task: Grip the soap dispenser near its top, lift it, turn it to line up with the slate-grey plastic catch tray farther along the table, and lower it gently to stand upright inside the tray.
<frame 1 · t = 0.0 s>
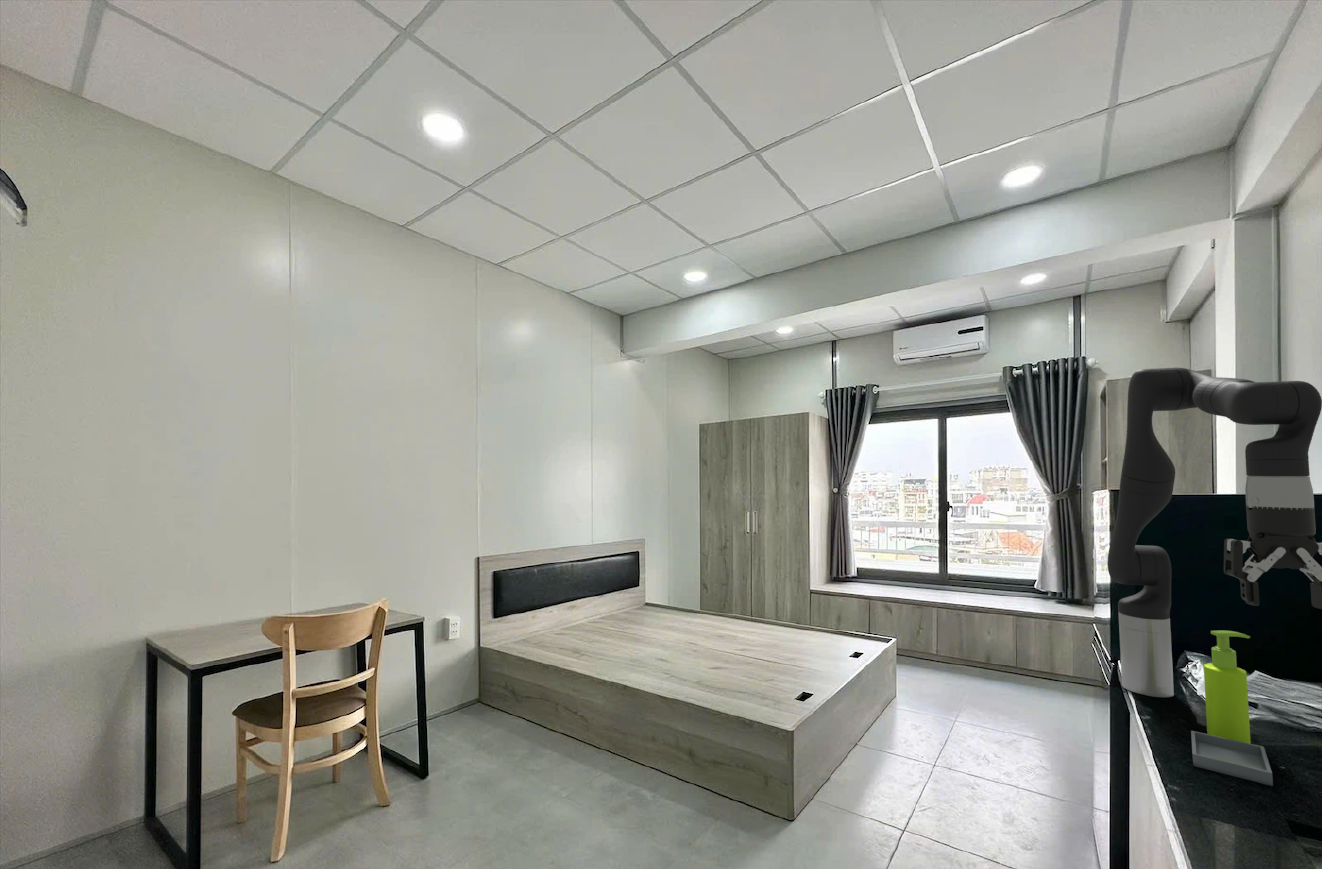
hand: (1285, 606, 92), 29 cm above the worktop, tool pointing down, fingers open, 8 cm apart
soap dispenser: (1231, 739, 109), on the worktop
catch tray: (1229, 762, 101), on the worktop
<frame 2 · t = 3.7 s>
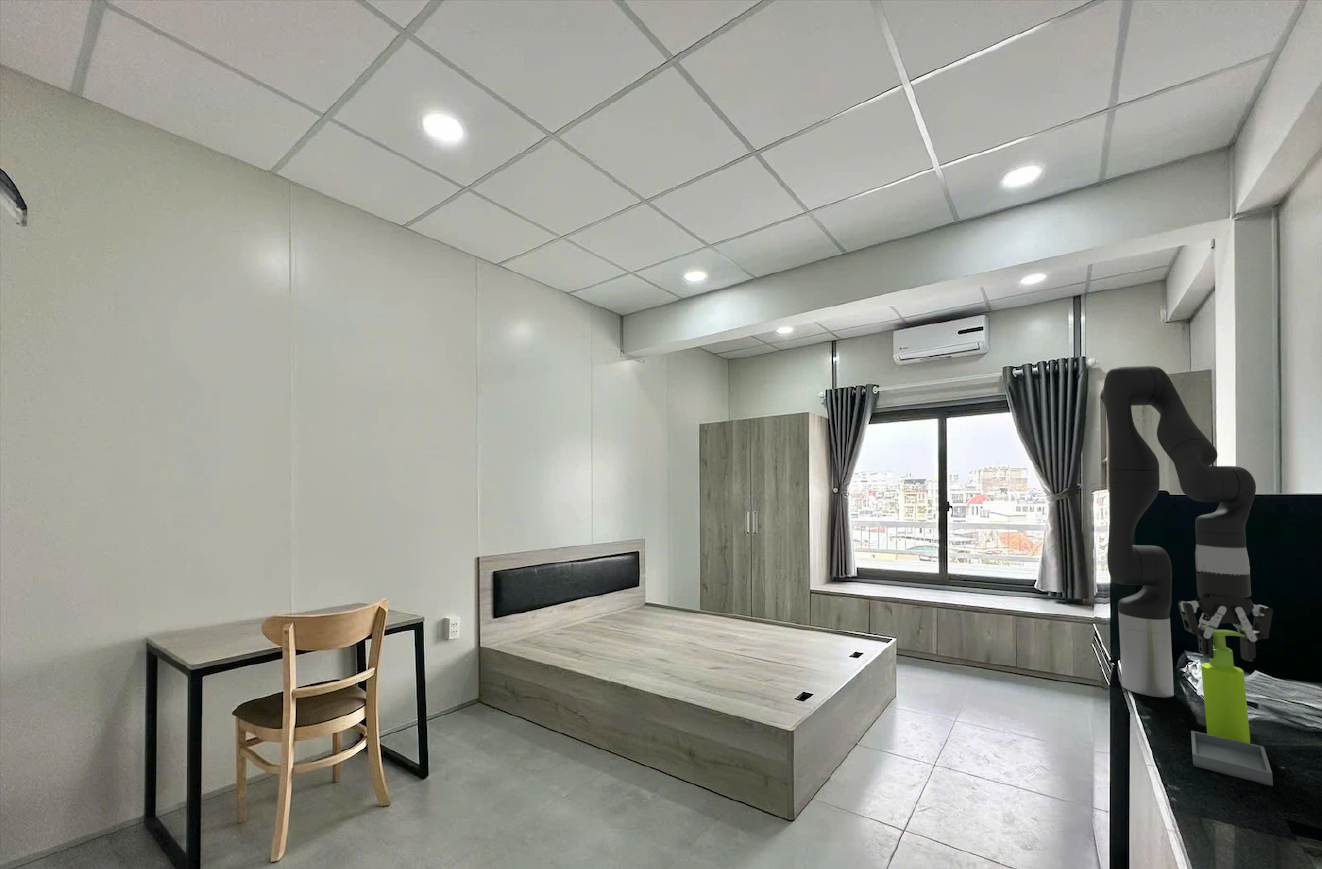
hand: (1227, 658, 110), 15 cm above the worktop, tool pointing down, fingers closed on soap dispenser, 5 cm apart
soap dispenser: (1231, 739, 109), on the worktop, touching gripper
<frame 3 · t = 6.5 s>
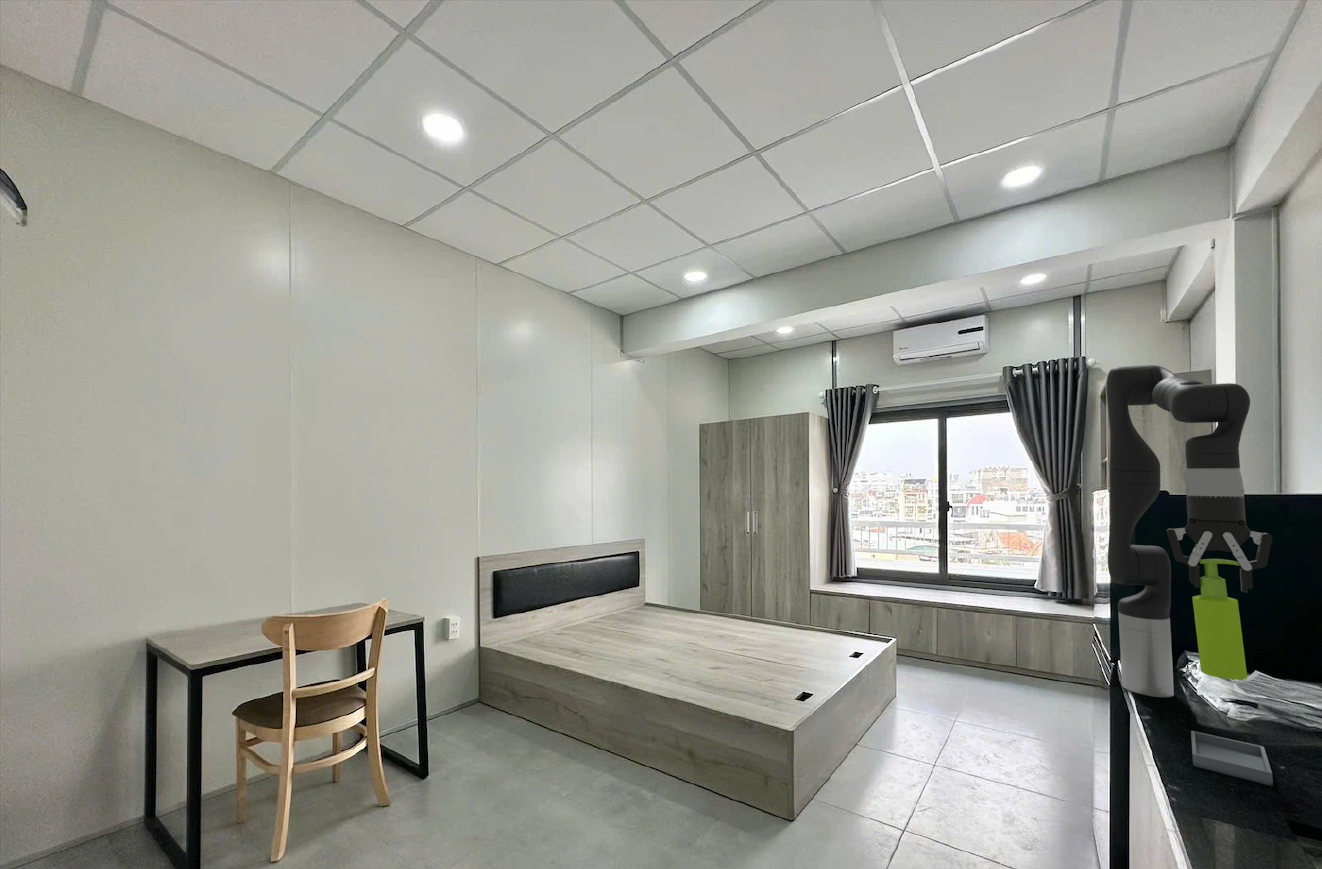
hand: (1220, 588, 103), 30 cm above the worktop, tool pointing down, fingers closed on soap dispenser, 5 cm apart
soap dispenser: (1227, 675, 101), point 15 cm above the worktop, touching gripper
when the fingers open (16 cm above the worktop, at t = 9.4 s): soap dispenser moves 1 cm, resting on catch tray.
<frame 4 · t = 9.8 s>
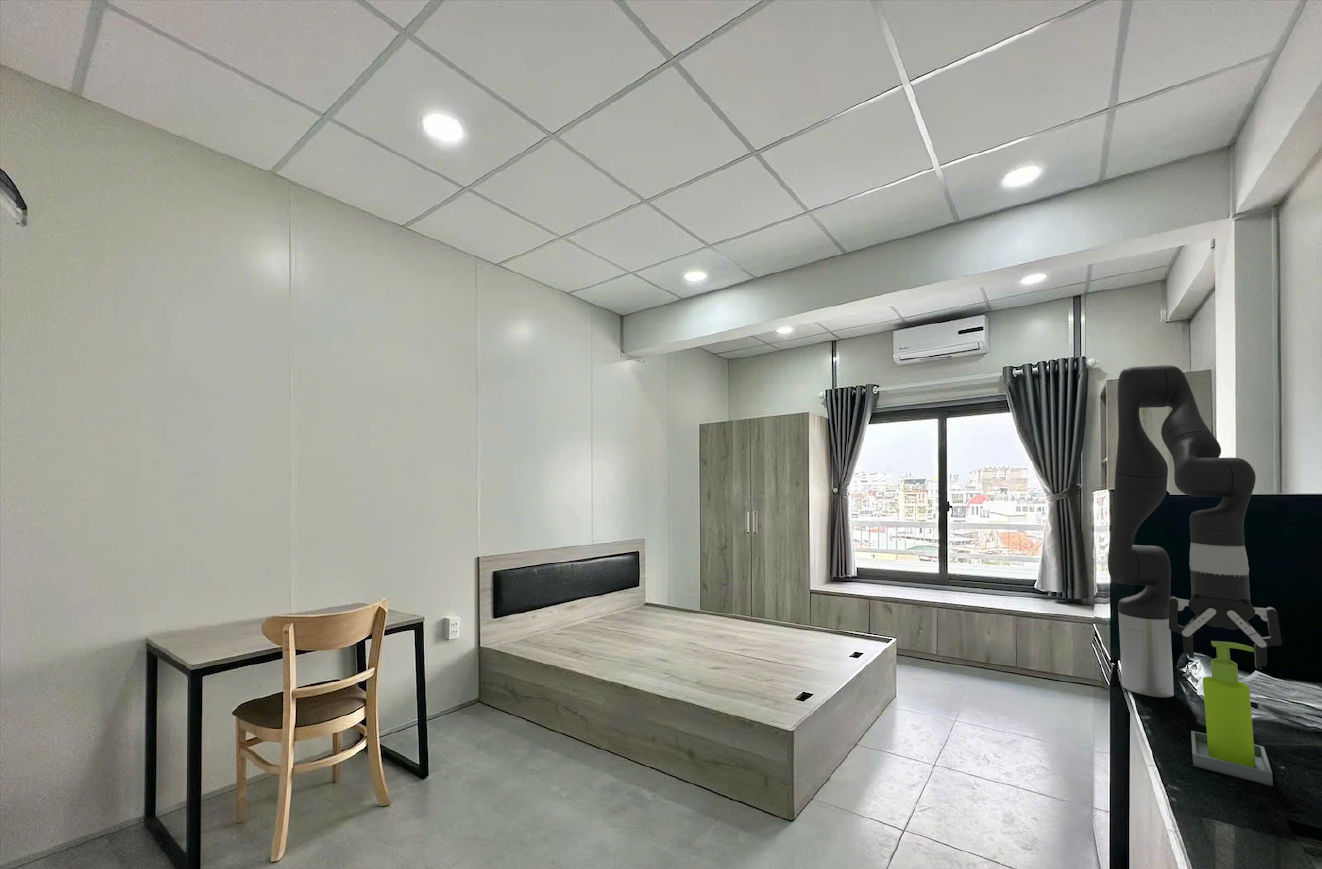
hand: (1223, 662, 102), 17 cm above the worktop, tool pointing down, fingers open, 8 cm apart
soap dispenser: (1235, 761, 100), resting on catch tray, touching gripper
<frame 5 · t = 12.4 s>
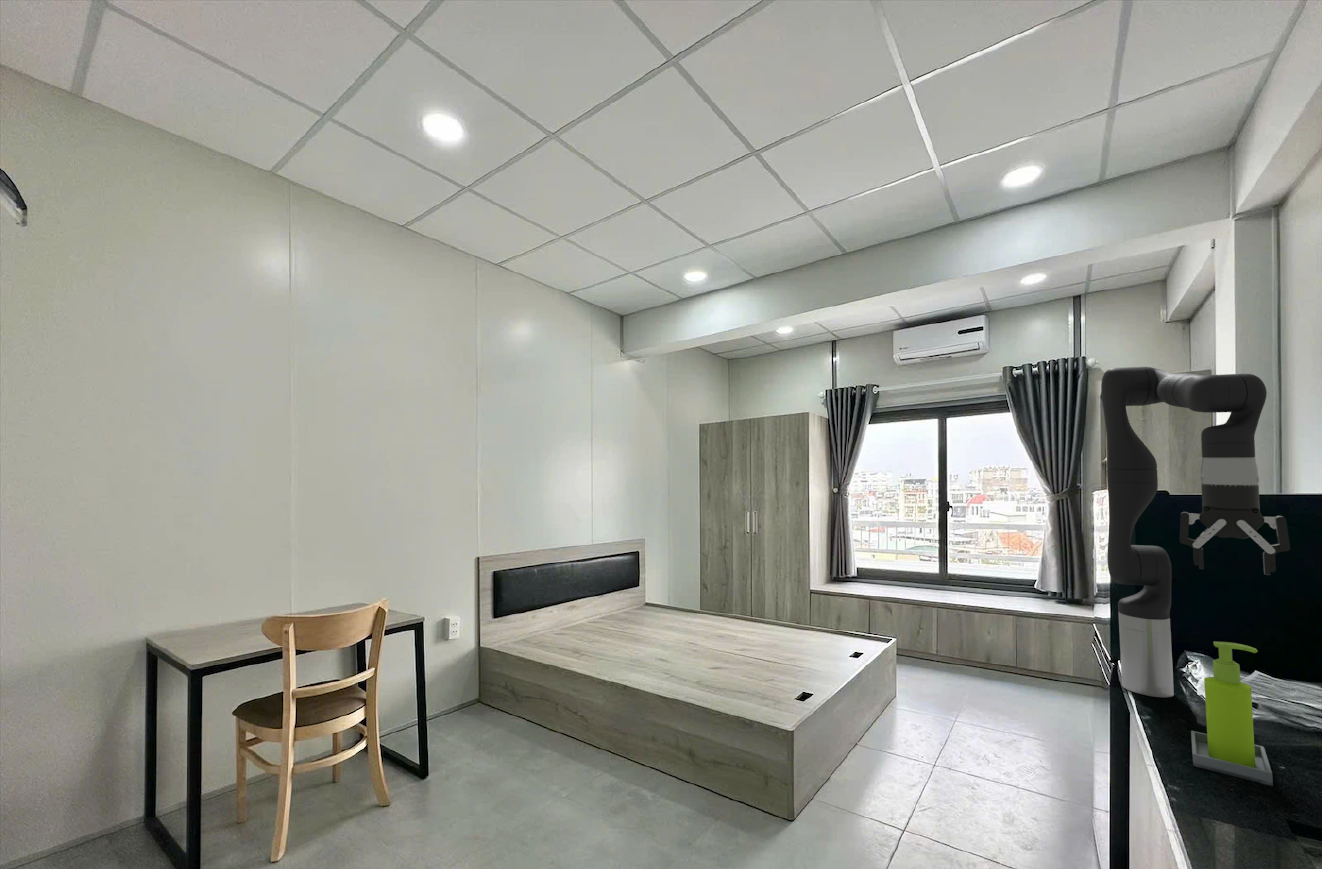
hand: (1233, 571, 105), 33 cm above the worktop, tool pointing down, fingers open, 8 cm apart
soap dispenser: (1235, 761, 100), resting on catch tray
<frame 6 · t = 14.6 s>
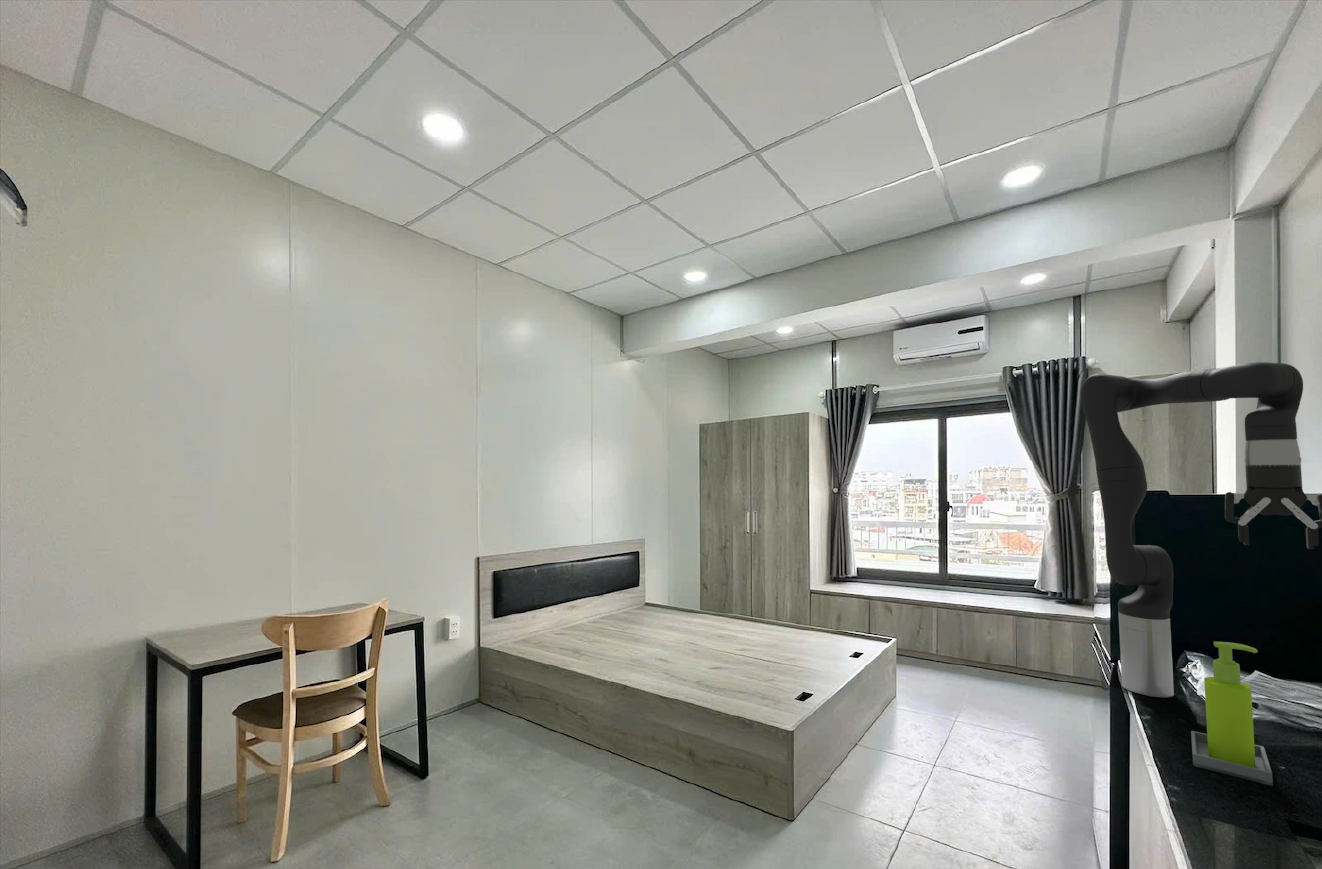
hand: (1277, 546, 112), 36 cm above the worktop, tool pointing down, fingers open, 8 cm apart
nothing on the worktop moved.
at the end: soap dispenser 0.8 cm off-centre on the catch tray, point 0.3 cm above the catch tray's base; soap dispenser tilted 0°; the gripper is holding nothing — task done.
